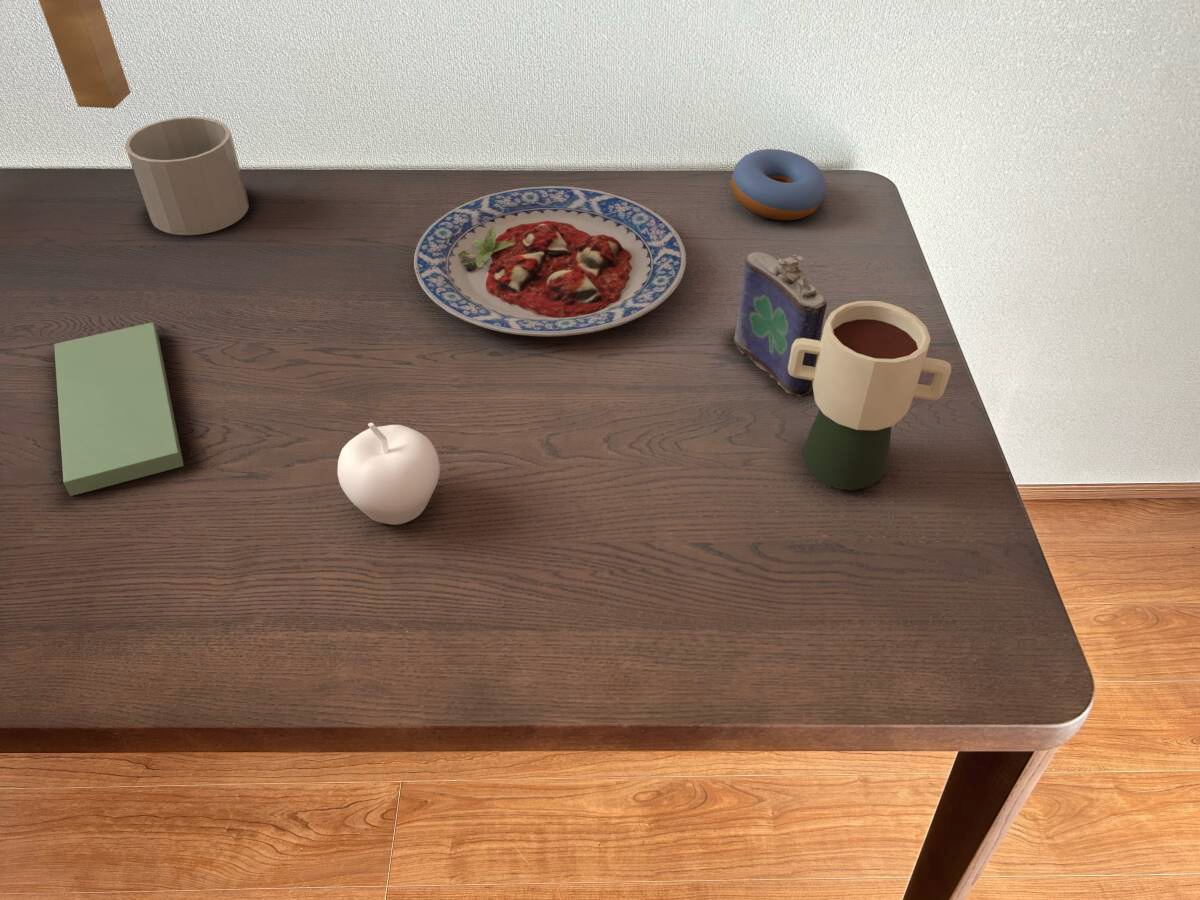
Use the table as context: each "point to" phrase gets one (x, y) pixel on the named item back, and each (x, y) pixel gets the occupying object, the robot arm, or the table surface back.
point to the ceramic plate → (549, 261)
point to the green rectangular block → (114, 409)
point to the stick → (86, 51)
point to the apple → (389, 472)
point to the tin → (188, 175)
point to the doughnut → (778, 184)
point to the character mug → (863, 388)
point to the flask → (778, 316)
